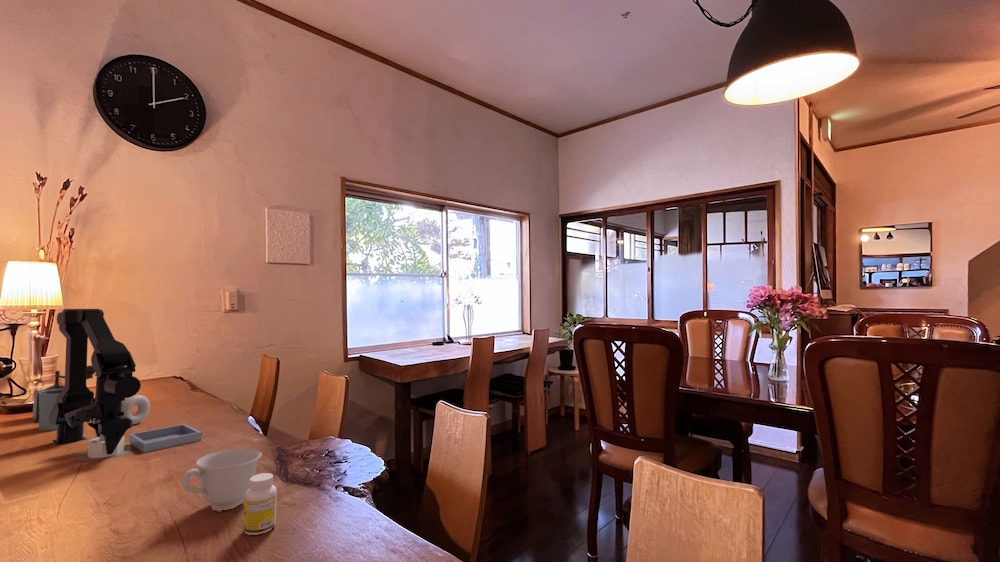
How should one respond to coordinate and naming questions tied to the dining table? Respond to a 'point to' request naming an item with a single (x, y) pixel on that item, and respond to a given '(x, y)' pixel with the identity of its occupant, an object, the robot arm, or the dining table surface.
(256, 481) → the supplement bottle
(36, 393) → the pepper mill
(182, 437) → the tray
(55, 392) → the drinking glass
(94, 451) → the ring
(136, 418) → the donut
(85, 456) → the stake
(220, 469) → the teacup
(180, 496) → the dining table surface
